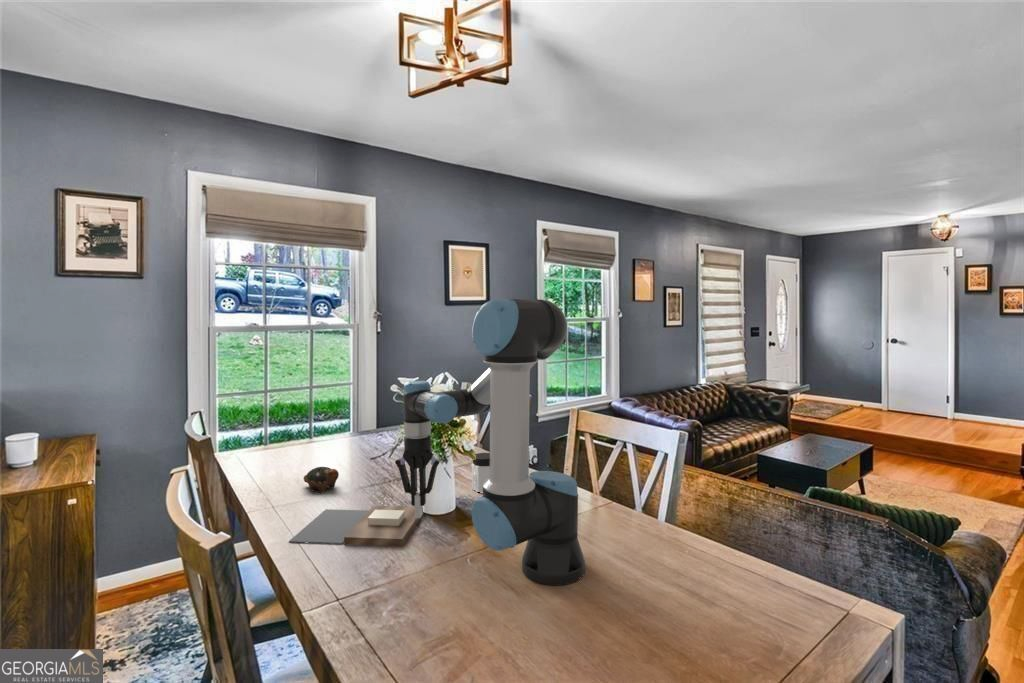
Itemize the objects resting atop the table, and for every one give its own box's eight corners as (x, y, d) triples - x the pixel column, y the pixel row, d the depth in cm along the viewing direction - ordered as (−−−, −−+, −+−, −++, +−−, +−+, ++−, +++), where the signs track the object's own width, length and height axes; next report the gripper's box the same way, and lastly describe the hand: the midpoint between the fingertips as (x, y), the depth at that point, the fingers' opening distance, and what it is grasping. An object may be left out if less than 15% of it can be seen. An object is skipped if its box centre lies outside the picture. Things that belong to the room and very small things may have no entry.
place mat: (372, 511, 155) (372, 510, 155) (342, 544, 133) (342, 542, 133) (325, 510, 156) (325, 509, 156) (288, 542, 134) (288, 541, 134)
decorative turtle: (331, 495, 169) (328, 473, 168) (295, 493, 174) (292, 471, 173) (349, 485, 178) (346, 463, 178) (314, 483, 183) (312, 462, 183)
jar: (468, 488, 176) (467, 454, 175) (487, 483, 180) (487, 451, 180) (481, 495, 168) (481, 460, 168) (501, 490, 173) (500, 456, 172)
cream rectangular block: (405, 517, 146) (404, 510, 146) (398, 525, 140) (398, 518, 140) (375, 516, 147) (375, 509, 147) (367, 524, 141) (367, 517, 141)
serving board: (423, 513, 154) (423, 506, 154) (402, 546, 132) (402, 538, 132) (373, 511, 155) (373, 505, 155) (344, 544, 133) (343, 537, 133)
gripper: (443, 432, 144) (444, 511, 146) (399, 431, 146) (400, 510, 147) (436, 439, 137) (438, 522, 138) (390, 438, 138) (392, 521, 139)
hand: (418, 516), depth 143 cm, fingers closed
